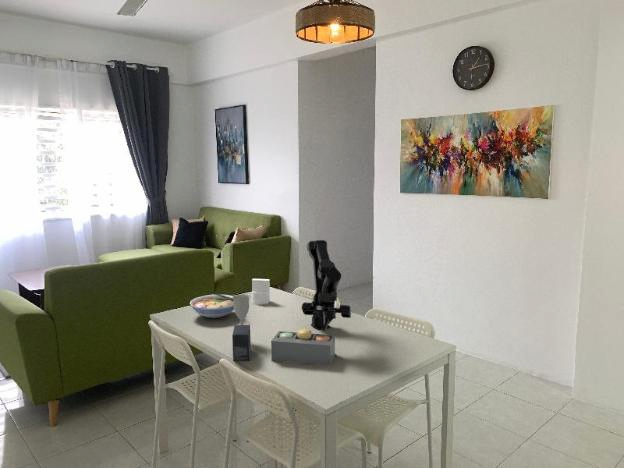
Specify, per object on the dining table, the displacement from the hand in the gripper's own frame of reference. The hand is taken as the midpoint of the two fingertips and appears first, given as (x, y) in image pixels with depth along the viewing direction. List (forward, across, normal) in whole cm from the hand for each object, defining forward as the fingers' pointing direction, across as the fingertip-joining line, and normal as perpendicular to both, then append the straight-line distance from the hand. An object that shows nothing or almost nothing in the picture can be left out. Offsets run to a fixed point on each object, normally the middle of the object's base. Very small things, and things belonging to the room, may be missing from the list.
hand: (323, 330), depth 181 cm
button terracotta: (+5, 0, +2) cm, 6 cm away
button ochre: (+4, -7, +1) cm, 8 cm away
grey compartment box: (+10, -7, +4) cm, 12 cm away
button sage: (+5, -14, +2) cm, 15 cm away
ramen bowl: (-17, -58, +32) cm, 69 cm away
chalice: (+1, -36, +13) cm, 38 cm away
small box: (+12, -30, +2) cm, 32 cm away
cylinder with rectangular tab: (-35, -44, +50) cm, 76 cm away
